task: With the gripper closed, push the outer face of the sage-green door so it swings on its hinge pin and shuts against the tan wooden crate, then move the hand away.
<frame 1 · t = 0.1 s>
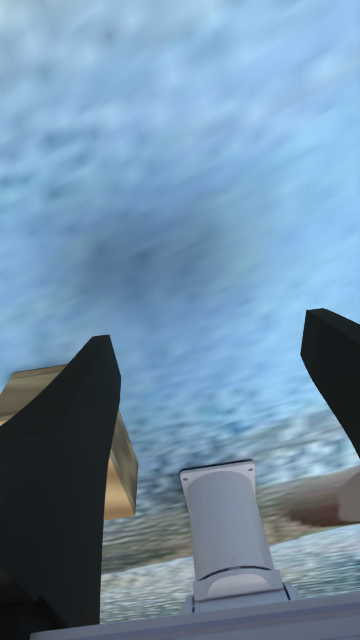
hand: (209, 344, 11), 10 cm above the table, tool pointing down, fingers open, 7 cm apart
tan wooden crate: (84, 424, 27), on the table
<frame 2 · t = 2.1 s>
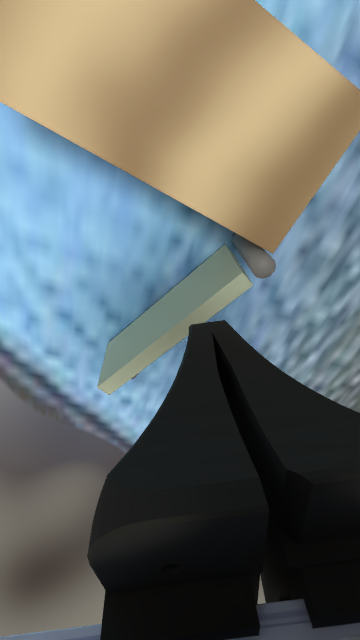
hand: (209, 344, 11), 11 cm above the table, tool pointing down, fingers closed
door: (180, 316, 20), point 3 cm above the table, hinge at 70.0°
tan wooden crate: (178, 106, 16), on the table
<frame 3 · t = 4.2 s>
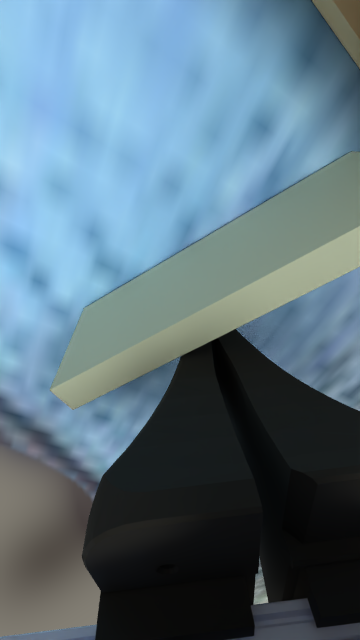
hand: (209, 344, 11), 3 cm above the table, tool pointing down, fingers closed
door: (248, 272, 10), point 3 cm above the table, hinge at 68.2°, touching gripper
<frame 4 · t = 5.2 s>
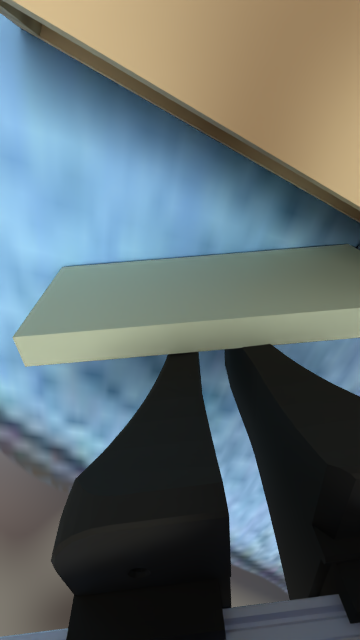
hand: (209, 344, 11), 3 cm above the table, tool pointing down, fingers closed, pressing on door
door: (239, 303, 11), point 3 cm above the table, hinge at 28.8°, touching gripper
tan wooden crate: (295, 25, 9), on the table
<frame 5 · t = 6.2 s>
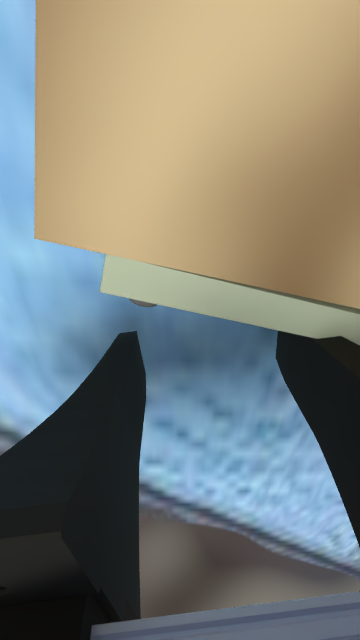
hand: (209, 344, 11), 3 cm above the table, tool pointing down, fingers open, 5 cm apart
door: (300, 300, 11), point 3 cm above the table, hinge at -1.4°, touching tan wooden crate, gripper
tan wooden crate: (303, 140, 10), on the table
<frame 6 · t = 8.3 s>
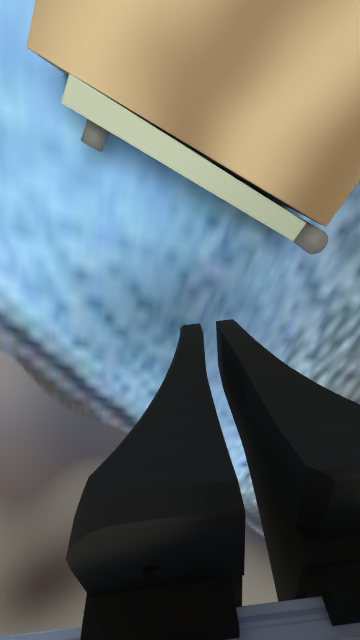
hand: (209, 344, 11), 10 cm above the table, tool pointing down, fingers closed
door: (201, 182, 15), point 3 cm above the table, hinge at -1.3°
tan wooden crate: (221, 77, 15), on the table
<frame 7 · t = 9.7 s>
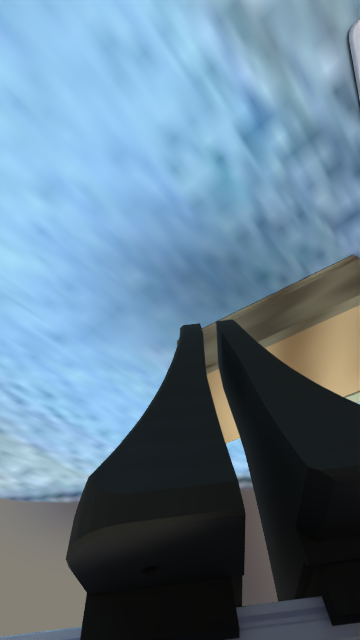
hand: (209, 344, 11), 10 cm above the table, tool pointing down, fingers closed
door: (317, 388, 24), point 3 cm above the table, hinge at -1.3°
tan wooden crate: (275, 334, 24), on the table
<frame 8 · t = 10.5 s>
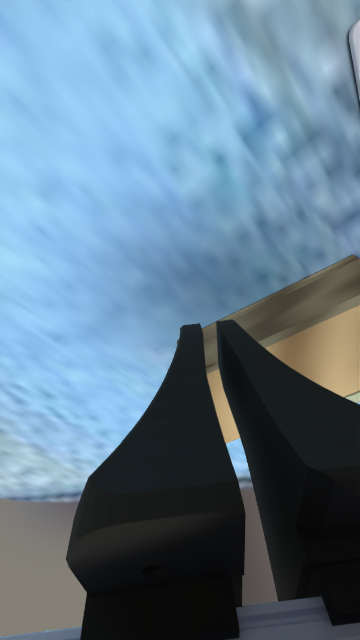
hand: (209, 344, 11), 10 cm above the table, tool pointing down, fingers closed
door: (317, 388, 24), point 3 cm above the table, hinge at -1.3°
tan wooden crate: (275, 334, 24), on the table
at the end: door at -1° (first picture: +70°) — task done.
